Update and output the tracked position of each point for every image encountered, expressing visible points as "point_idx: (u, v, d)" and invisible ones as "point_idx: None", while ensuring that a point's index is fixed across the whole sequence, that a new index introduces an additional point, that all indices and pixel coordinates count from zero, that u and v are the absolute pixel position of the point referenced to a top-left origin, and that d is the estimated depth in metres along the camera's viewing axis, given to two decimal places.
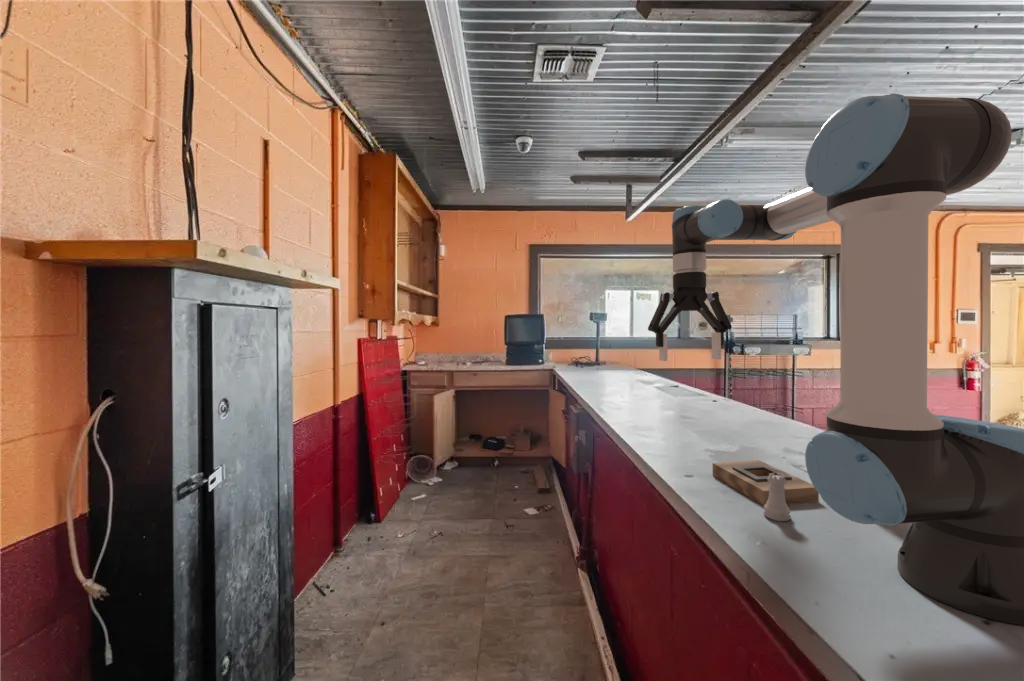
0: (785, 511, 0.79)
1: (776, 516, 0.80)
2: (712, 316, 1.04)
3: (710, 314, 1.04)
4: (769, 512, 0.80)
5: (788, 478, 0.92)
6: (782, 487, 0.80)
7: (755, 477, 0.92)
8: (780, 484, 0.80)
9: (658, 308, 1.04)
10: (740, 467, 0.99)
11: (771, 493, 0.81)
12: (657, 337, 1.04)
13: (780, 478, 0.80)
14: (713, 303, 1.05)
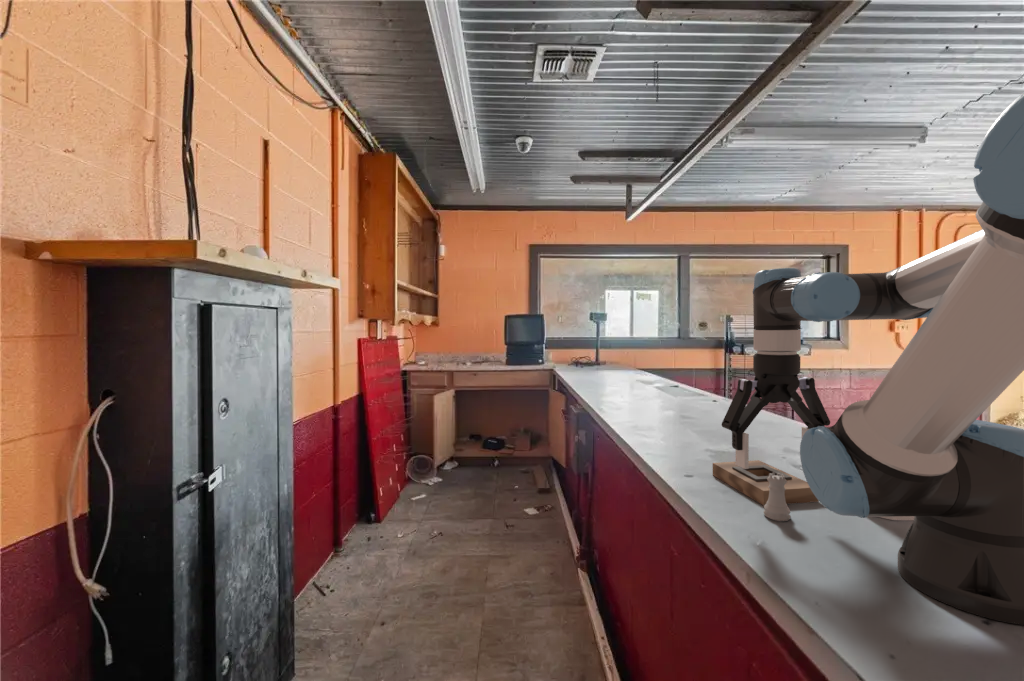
0: (785, 511, 0.79)
1: (776, 516, 0.80)
2: (806, 409, 0.80)
3: (803, 407, 0.80)
4: (769, 512, 0.80)
5: (788, 478, 0.92)
6: (782, 487, 0.80)
7: (755, 477, 0.92)
8: (780, 484, 0.80)
9: (736, 399, 0.80)
10: (740, 467, 0.99)
11: (771, 493, 0.81)
12: (734, 437, 0.80)
13: (780, 478, 0.80)
14: (806, 391, 0.81)
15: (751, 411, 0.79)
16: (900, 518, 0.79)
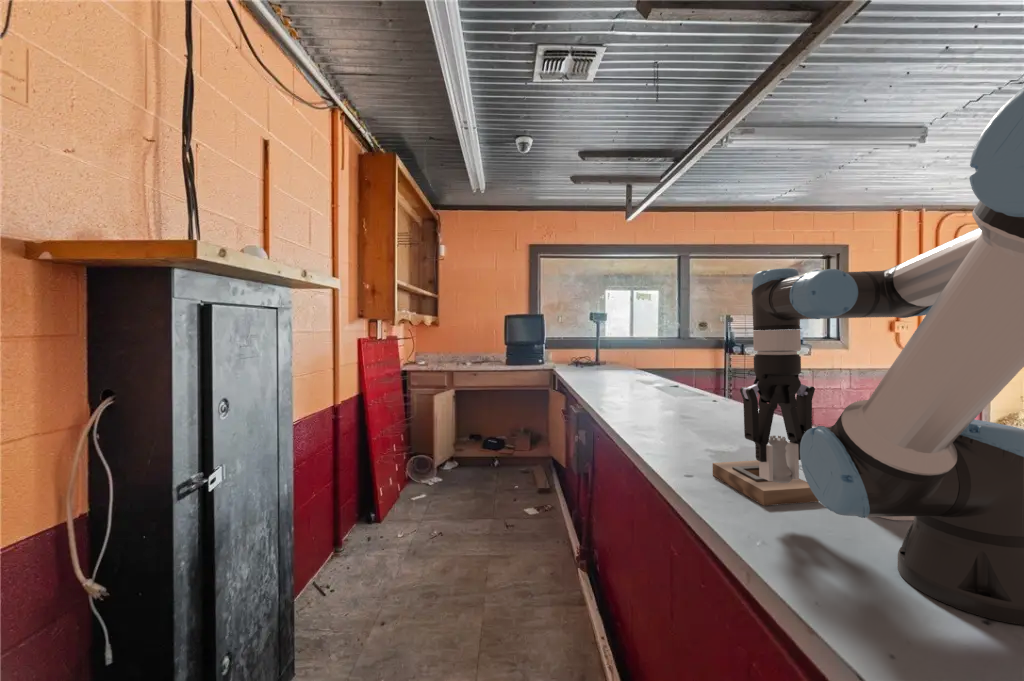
0: (787, 472, 0.79)
1: (777, 478, 0.79)
2: (796, 418, 0.79)
3: (794, 414, 0.79)
4: None
5: None
6: (783, 448, 0.79)
7: (755, 477, 0.92)
8: (781, 445, 0.79)
9: (746, 409, 0.80)
10: (740, 467, 0.99)
11: None
12: (758, 449, 0.80)
13: (781, 439, 0.79)
14: (801, 399, 0.81)
15: (765, 419, 0.79)
16: (900, 518, 0.79)
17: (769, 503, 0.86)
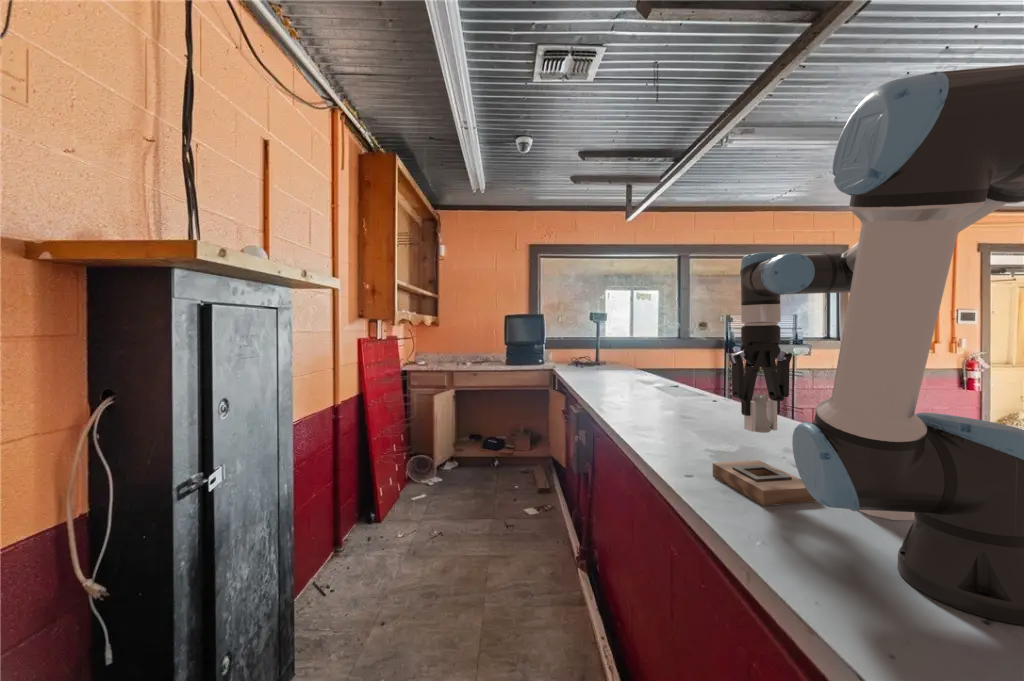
0: (767, 424, 0.94)
1: (759, 428, 0.94)
2: (775, 379, 0.94)
3: (774, 376, 0.94)
4: None
5: (788, 478, 0.92)
6: (764, 404, 0.94)
7: (755, 477, 0.92)
8: (762, 401, 0.94)
9: (734, 372, 0.95)
10: (740, 467, 0.99)
11: (755, 410, 0.95)
12: (743, 405, 0.95)
13: (762, 396, 0.94)
14: (781, 363, 0.95)
15: (750, 380, 0.94)
16: (900, 518, 0.79)
17: (769, 503, 0.86)
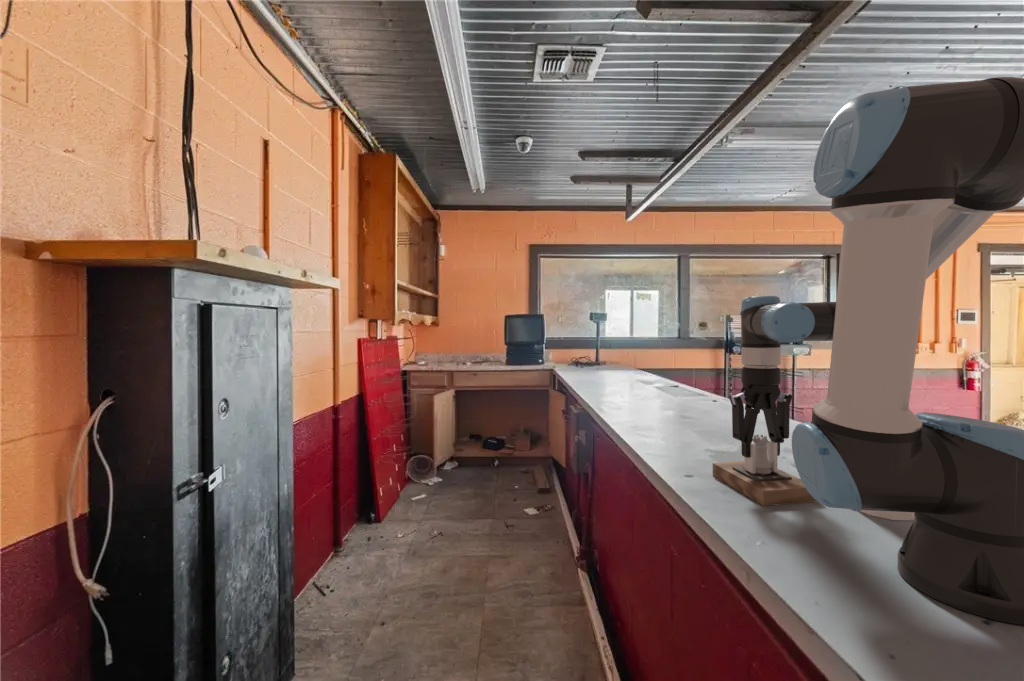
0: (767, 465, 0.94)
1: (759, 470, 0.94)
2: (775, 421, 0.94)
3: (774, 418, 0.94)
4: None
5: (788, 478, 0.92)
6: (764, 446, 0.95)
7: (755, 477, 0.92)
8: (763, 443, 0.94)
9: (734, 414, 0.95)
10: (740, 467, 0.99)
11: None
12: (744, 446, 0.95)
13: (763, 438, 0.94)
14: (781, 404, 0.96)
15: (750, 422, 0.94)
16: (900, 518, 0.79)
17: (769, 503, 0.86)
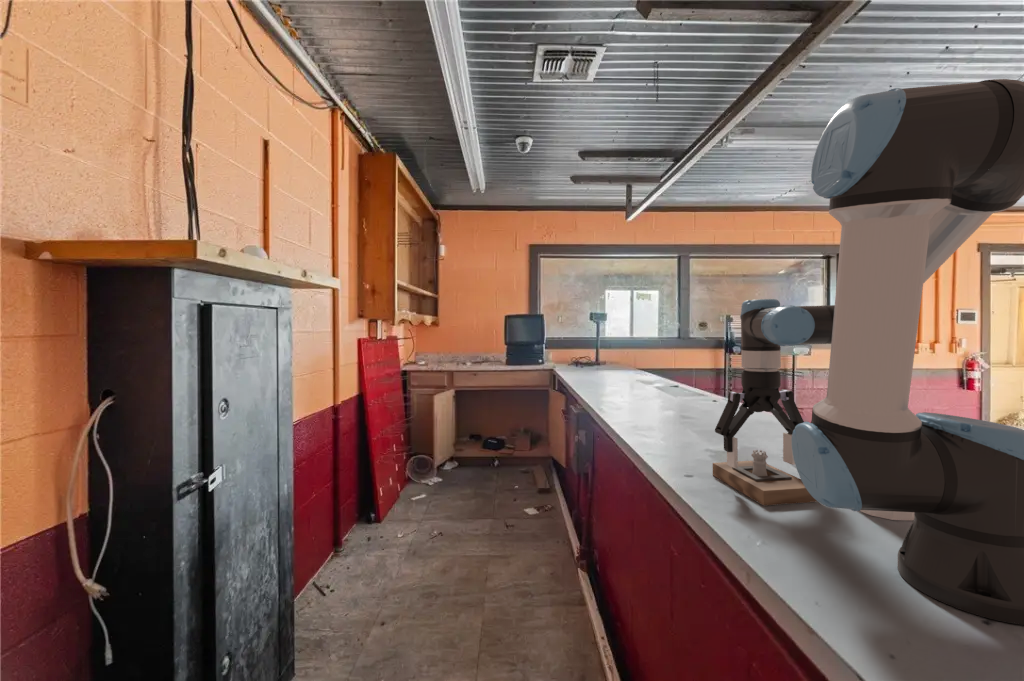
0: None
1: None
2: (786, 418, 0.95)
3: (784, 415, 0.95)
4: None
5: (788, 478, 0.92)
6: (764, 461, 0.95)
7: (755, 477, 0.92)
8: (762, 459, 0.95)
9: (726, 409, 0.95)
10: (740, 467, 0.99)
11: (755, 467, 0.96)
12: (726, 441, 0.94)
13: (762, 454, 0.95)
14: (786, 402, 0.96)
15: (739, 419, 0.94)
16: (900, 518, 0.79)
17: (769, 503, 0.86)
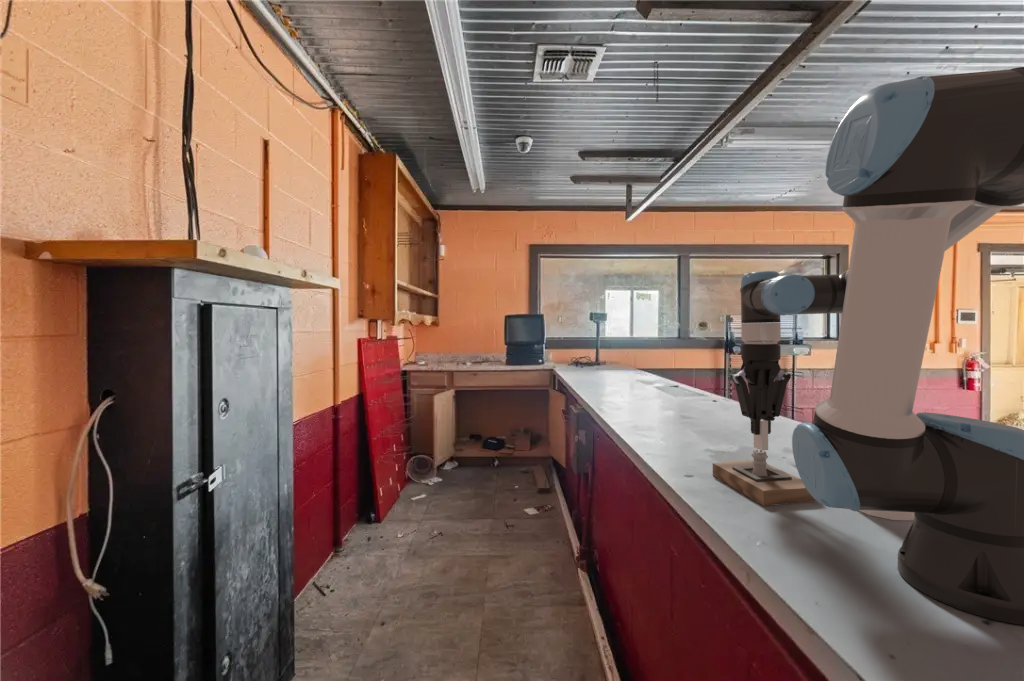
0: None
1: None
2: (770, 398, 0.94)
3: (770, 395, 0.94)
4: None
5: (788, 478, 0.92)
6: (764, 461, 0.95)
7: (755, 477, 0.92)
8: (762, 459, 0.95)
9: (739, 392, 0.95)
10: (740, 467, 0.99)
11: (755, 467, 0.96)
12: (753, 423, 0.95)
13: (762, 454, 0.95)
14: (778, 382, 0.95)
15: (755, 399, 0.94)
16: (900, 518, 0.79)
17: (769, 503, 0.86)
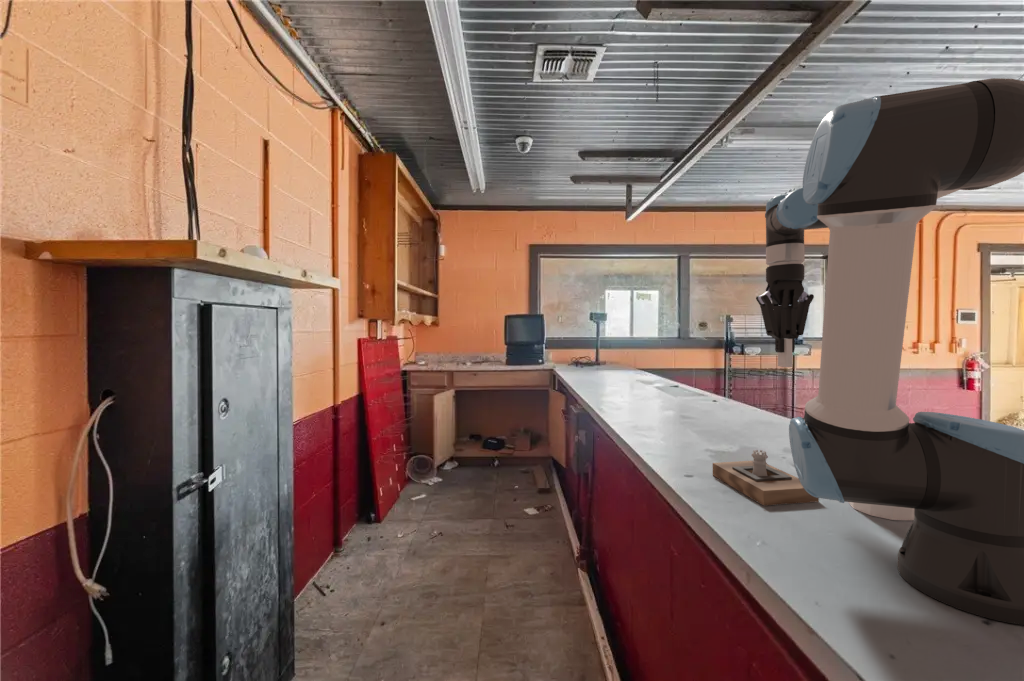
0: None
1: None
2: (794, 317, 0.99)
3: (794, 314, 0.99)
4: None
5: (788, 478, 0.92)
6: (764, 461, 0.95)
7: (755, 477, 0.92)
8: (762, 459, 0.95)
9: (764, 312, 0.99)
10: (740, 467, 0.99)
11: (755, 467, 0.96)
12: (777, 342, 0.99)
13: (762, 454, 0.95)
14: (801, 303, 1.00)
15: (780, 318, 0.98)
16: (900, 518, 0.79)
17: (769, 503, 0.86)
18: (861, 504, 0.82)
